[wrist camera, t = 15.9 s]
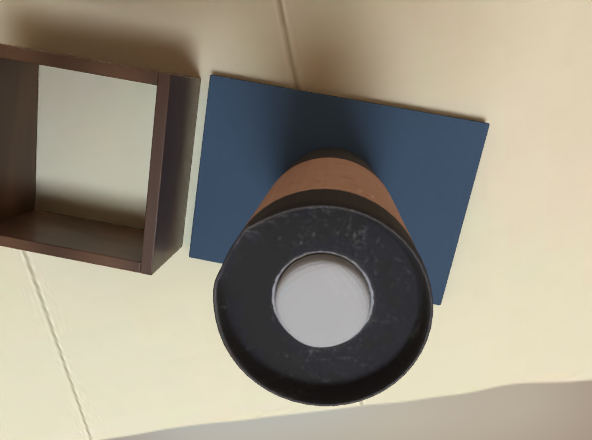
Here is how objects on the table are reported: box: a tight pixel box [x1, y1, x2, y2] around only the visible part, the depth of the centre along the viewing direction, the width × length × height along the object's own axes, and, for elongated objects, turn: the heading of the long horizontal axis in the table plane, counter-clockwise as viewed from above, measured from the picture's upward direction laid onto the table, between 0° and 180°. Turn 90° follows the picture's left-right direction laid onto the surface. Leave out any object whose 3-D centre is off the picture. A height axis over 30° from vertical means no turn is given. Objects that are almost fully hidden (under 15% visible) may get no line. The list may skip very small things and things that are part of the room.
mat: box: [189, 75, 489, 305], centre depth 36 cm, size 20×14×1 cm
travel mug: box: [213, 148, 433, 406], centre depth 26 cm, size 8×8×20 cm
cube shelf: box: [0, 44, 201, 275], centre depth 34 cm, size 13×13×6 cm
